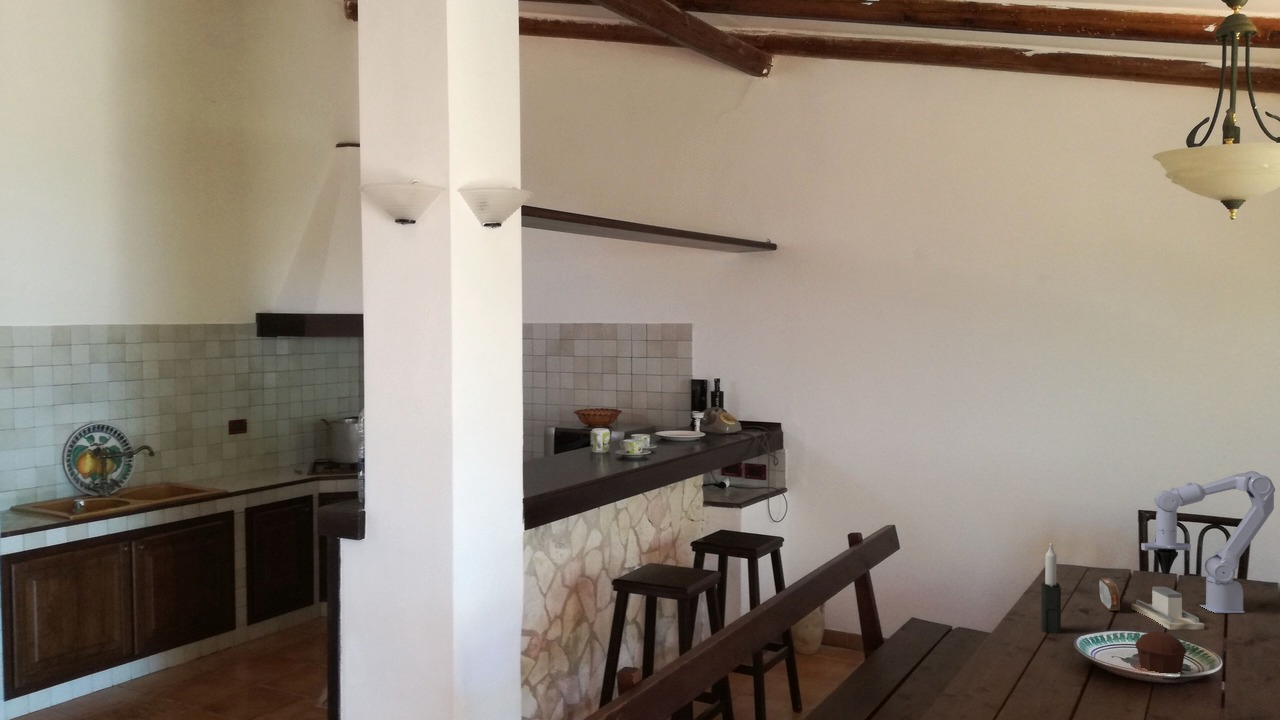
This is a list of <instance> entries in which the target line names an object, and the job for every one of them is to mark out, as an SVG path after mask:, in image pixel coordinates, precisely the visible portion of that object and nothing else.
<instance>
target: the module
mask: <svg viewBox="0 0 1280 720" xmlns="http://www.w3.org/2000/svg"><path fill="white" fill-rule="evenodd" d="M1151 589H1152V590H1151V591H1152V593H1151V594H1152V595H1151V597H1152V599H1151V600H1152V602H1151V604H1152V607H1154V608H1156V609H1158V610H1160V611H1162V612H1164V613H1166V614H1168V615H1170V616H1171V617H1173V618H1182V610H1183V594H1182V593H1180V592H1179V591H1176V590H1174V589H1171V588H1169V587H1168V586H1152V588H1151Z"/></svg>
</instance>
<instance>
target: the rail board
mask: <svg viewBox="0 0 1280 720" xmlns="http://www.w3.org/2000/svg"><path fill="white" fill-rule="evenodd" d="M1131 610H1133V611H1134V610H1135V611H1134V612H1136V611H1137V612H1136V613H1138V612H1139V614H1140V613H1141V614H1140V615H1142V614H1143V615H1142V616H1144V615H1145V616H1147V617H1149V618H1151V619H1153V620H1155V621H1156V622H1158V623H1159V624H1158V623H1157V624H1158V625H1160V624H1161V625H1160V626H1162V625H1163V626H1162V627H1164V628H1165V629H1167V630H1172V631H1173V630H1175V631H1176V630H1179V631H1180V630H1182V631H1183V630H1184V631H1185V630H1205V623H1203V622H1201V621H1200V618H1199V617H1198V616H1196V615H1194V614H1192V613H1189V611H1186V610H1184V609H1182V618H1173V617H1171V616H1170V615H1168V614H1166V613H1164V612H1162V611H1160V610H1158V609H1156V608H1154V607H1152V603H1147V602H1144V601H1142V599H1141V600H1140V599H1136V601H1135V603H1131ZM1145 616H1144V617H1145ZM1147 617H1146V618H1147ZM1149 618H1148V619H1149ZM1151 619H1150V620H1151ZM1153 620H1152V621H1153ZM1155 621H1154V622H1155ZM1156 622H1155V623H1156Z"/></svg>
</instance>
